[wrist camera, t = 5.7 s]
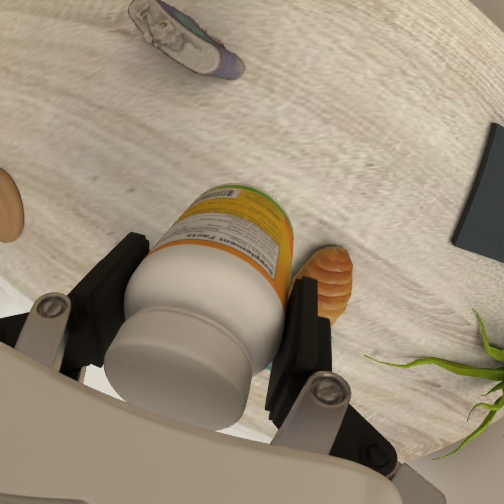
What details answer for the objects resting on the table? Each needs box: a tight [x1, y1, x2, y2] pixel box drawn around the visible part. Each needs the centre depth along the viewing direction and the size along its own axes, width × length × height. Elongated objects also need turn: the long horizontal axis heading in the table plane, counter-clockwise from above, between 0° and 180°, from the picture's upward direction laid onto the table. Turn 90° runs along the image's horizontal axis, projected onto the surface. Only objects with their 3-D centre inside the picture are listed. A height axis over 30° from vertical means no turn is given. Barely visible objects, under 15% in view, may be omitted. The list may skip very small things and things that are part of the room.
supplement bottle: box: [104, 183, 294, 431], centre depth 12 cm, size 5×5×10 cm
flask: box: [128, 0, 245, 80], centre depth 20 cm, size 9×3×11 cm, turn 45°
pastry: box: [288, 246, 353, 326], centre depth 33 cm, size 9×7×4 cm
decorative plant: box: [364, 308, 504, 460], centre depth 31 cm, size 18×30×15 cm, turn 52°
